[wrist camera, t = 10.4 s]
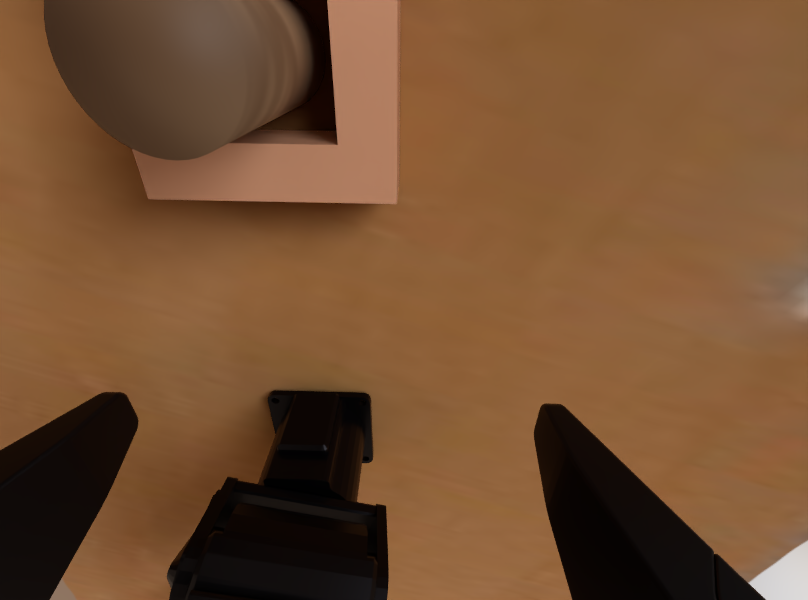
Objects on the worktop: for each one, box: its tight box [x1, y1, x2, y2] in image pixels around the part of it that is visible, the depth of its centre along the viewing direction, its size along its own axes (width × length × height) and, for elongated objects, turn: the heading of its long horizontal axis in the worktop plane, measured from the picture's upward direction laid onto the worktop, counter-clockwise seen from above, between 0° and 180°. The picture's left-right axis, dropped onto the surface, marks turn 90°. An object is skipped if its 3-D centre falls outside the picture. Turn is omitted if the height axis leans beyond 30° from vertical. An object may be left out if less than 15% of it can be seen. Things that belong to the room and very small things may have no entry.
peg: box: [44, 0, 325, 161], centre depth 12 cm, size 4×4×9 cm
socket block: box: [132, 0, 400, 204], centre depth 15 cm, size 10×10×3 cm
